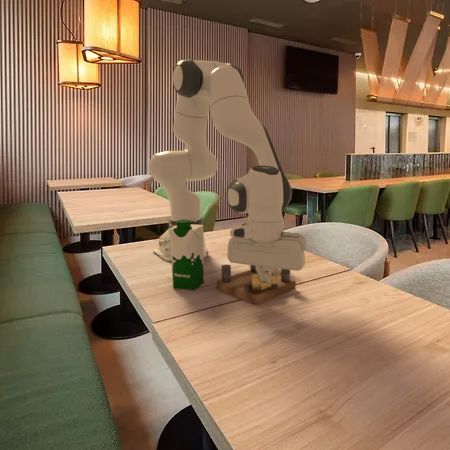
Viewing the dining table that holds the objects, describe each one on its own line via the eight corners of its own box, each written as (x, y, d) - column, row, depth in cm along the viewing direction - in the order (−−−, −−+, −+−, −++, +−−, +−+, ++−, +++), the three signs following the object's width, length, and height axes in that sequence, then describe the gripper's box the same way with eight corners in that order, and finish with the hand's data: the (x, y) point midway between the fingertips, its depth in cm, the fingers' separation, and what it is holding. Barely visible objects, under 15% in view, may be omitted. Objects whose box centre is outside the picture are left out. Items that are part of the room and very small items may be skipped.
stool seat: (216, 288, 112) (216, 265, 110) (254, 275, 122) (254, 254, 121) (256, 305, 100) (257, 279, 99) (295, 289, 111) (295, 266, 109)
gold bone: (271, 282, 108) (271, 268, 107) (278, 285, 106) (279, 270, 105) (249, 290, 103) (249, 275, 102) (256, 293, 101) (256, 278, 100)
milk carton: (168, 289, 112) (165, 221, 108) (182, 278, 121) (179, 216, 116) (196, 292, 109) (194, 223, 105) (208, 281, 118) (206, 217, 114)
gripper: (308, 231, 96) (307, 283, 99) (234, 225, 105) (234, 273, 108) (302, 236, 91) (301, 291, 94) (224, 230, 99) (225, 280, 102)
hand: (265, 282), depth 101 cm, fingers closed
